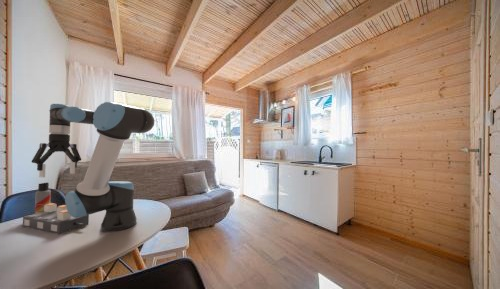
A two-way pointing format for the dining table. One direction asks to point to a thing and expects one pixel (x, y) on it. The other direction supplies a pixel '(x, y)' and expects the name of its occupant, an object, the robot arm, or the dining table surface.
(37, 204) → the lotion bottle
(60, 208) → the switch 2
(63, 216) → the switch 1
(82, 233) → the dining table surface
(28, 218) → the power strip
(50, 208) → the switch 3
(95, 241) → the dining table surface
